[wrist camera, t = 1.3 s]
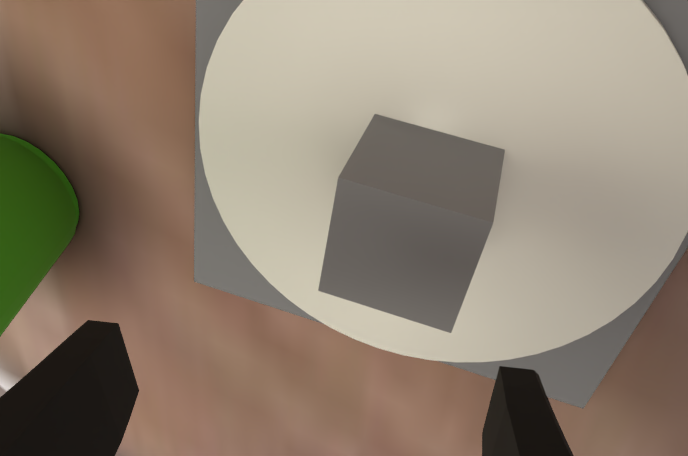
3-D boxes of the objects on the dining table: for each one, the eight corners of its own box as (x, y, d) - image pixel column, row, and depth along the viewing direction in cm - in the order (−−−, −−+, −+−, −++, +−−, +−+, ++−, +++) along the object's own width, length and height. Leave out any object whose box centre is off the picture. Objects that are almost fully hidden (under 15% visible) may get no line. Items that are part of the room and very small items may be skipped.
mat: (859, -34, 13) (866, -30, 13) (582, 399, 22) (583, 408, 22) (204, -179, 15) (197, -177, 15) (198, 275, 24) (194, 281, 24)
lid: (825, -11, 13) (915, 58, 10) (574, 394, 22) (576, 506, 18) (216, -149, 15) (115, -130, 12) (206, 275, 23) (146, 357, 20)
